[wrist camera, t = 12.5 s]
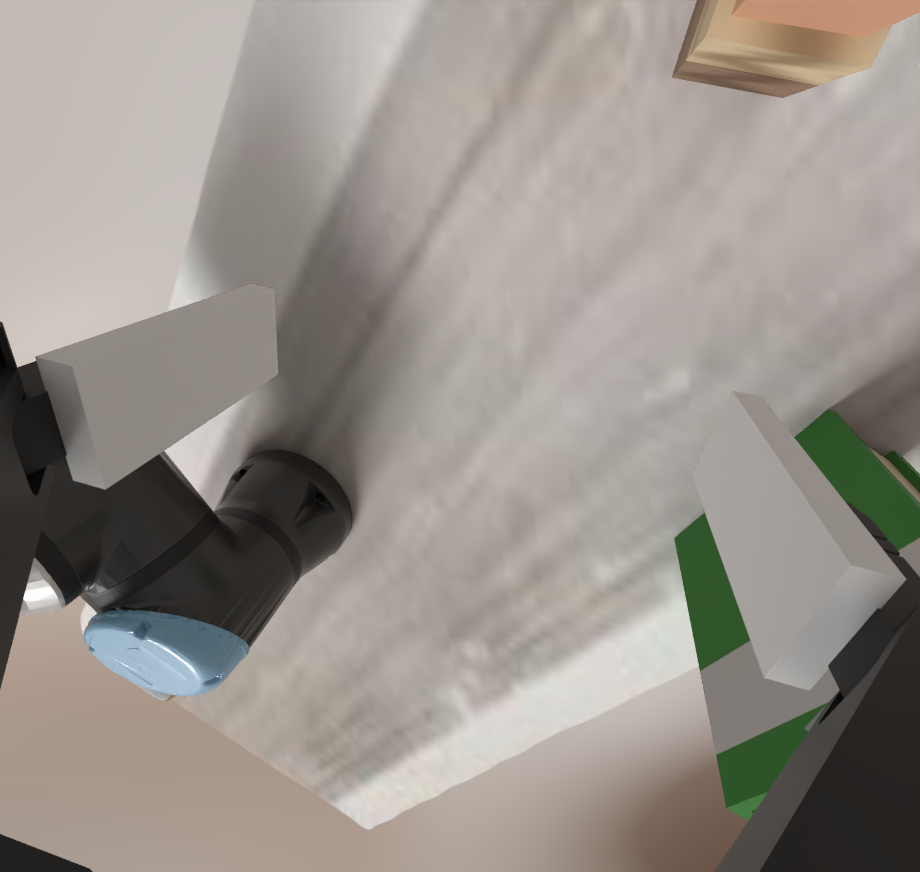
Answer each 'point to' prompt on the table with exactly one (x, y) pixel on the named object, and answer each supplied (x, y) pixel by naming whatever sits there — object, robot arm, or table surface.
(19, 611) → the robot arm
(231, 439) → the table surface
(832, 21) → the terracotta block
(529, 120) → the table surface
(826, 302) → the table surface
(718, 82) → the walnut base block
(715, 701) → the hardback book
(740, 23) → the oak middle block
